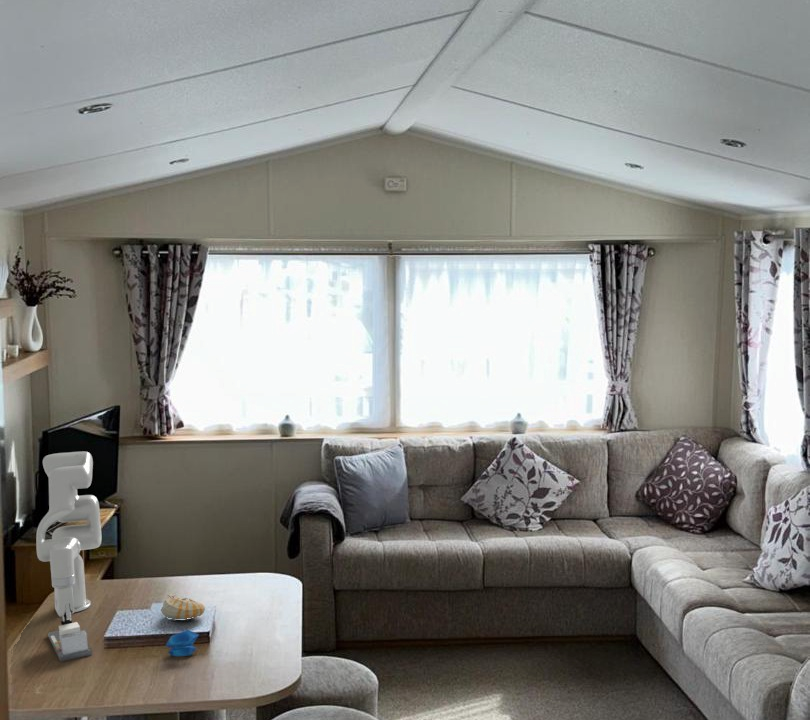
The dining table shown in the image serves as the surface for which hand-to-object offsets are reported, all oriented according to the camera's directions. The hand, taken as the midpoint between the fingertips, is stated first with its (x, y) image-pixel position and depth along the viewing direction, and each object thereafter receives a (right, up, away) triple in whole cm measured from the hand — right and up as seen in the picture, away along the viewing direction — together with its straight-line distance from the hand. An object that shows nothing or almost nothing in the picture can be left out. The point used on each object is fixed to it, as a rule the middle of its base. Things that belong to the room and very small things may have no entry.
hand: (67, 631), depth 328 cm
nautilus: (+34, -1, +21) cm, 40 cm away
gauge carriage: (+2, -2, -5) cm, 5 cm away
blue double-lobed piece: (+43, -5, -11) cm, 44 cm away
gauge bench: (+1, -4, -2) cm, 5 cm away
